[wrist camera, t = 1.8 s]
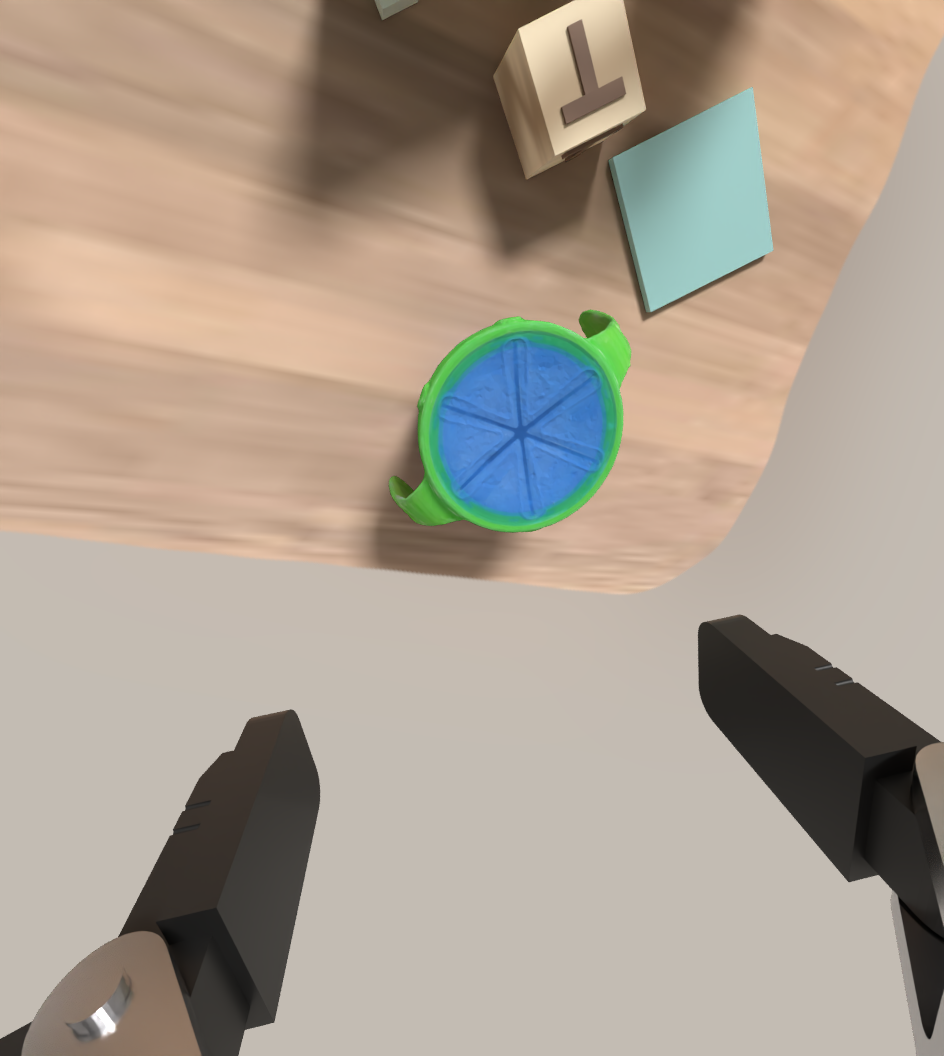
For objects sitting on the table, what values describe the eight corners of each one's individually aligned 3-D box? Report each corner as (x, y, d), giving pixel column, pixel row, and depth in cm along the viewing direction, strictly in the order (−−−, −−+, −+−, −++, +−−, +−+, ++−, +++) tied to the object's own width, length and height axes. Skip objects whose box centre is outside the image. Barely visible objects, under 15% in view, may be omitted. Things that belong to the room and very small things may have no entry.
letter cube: (492, 77, 26) (519, 26, 22) (575, 34, 26) (620, -25, 22) (526, 183, 29) (557, 158, 24) (603, 144, 29) (648, 112, 24)
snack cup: (543, 258, 30) (619, 236, 21) (611, 402, 35) (697, 434, 26) (338, 402, 31) (327, 439, 22) (430, 523, 36) (452, 595, 27)
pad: (608, 160, 29) (612, 157, 28) (745, 90, 29) (752, 86, 28) (646, 312, 33) (650, 312, 32) (766, 251, 33) (773, 250, 32)
